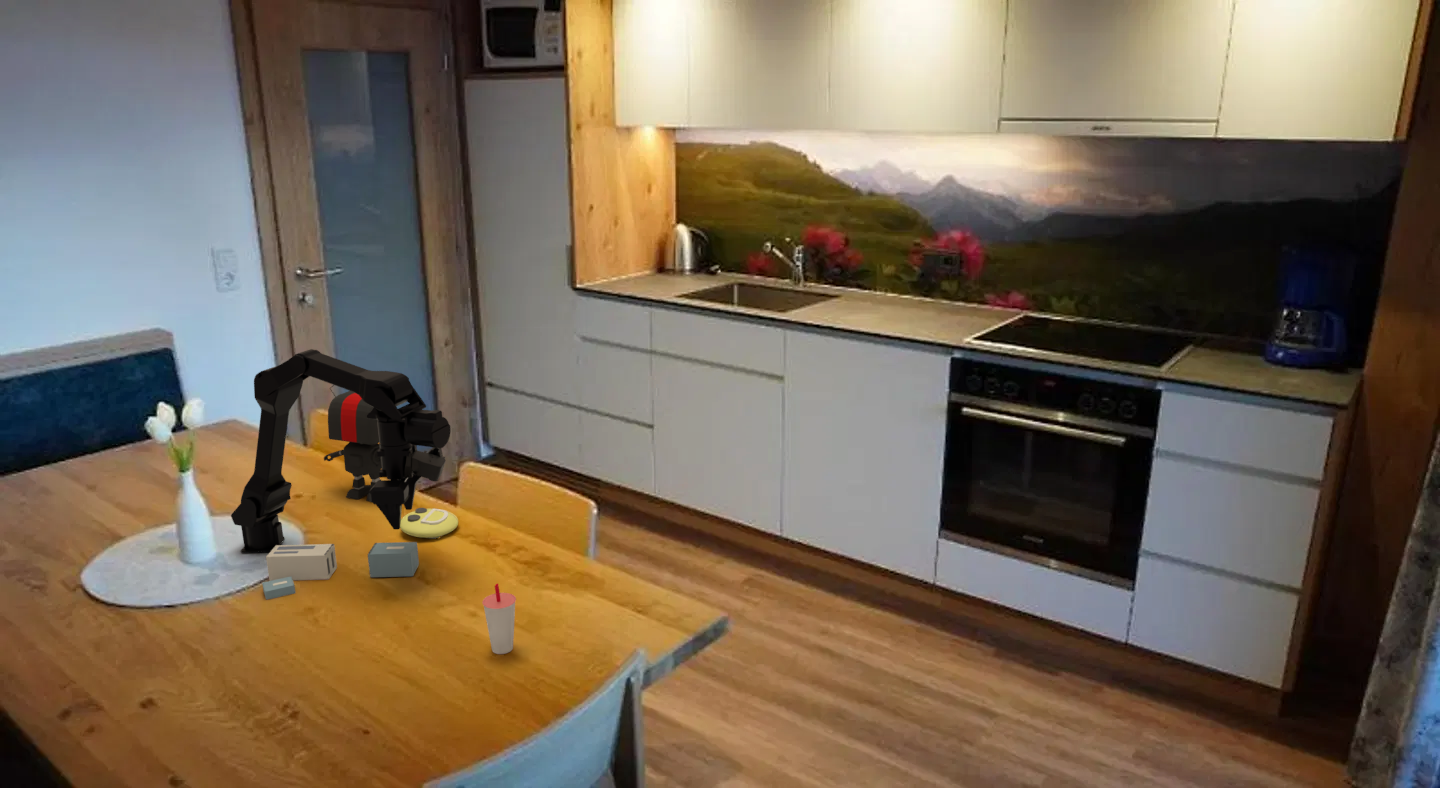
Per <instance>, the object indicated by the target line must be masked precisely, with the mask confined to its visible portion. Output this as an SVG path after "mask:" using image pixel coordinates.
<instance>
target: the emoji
mask: <svg viewBox="0 0 1440 788" xmlns="http://www.w3.org/2000/svg"><path fill="white" fill-rule="evenodd" d="M458 525H459V518H458V517H457V516H456V515H455V514H454V513H452V512H450V511H448V510H446V509H442V508H441V509H439V508H434V507H433V508H427V507H418V508H416V509H415V510H414V511H411V512H409V513H407V514H405V515H404V516H403V517H401V524H400V530H401V531H402V532H403V533H404V534H407V535H409V536H411V537H415V538H416V537H417V538H426V539H436V538H439V537H440V536H441V537H442V536H444V535H445V536H446V535H447V534H450V533H452V531H454V530H455V529H457V527H458ZM441 537H440V538H441ZM440 538H439V539H440Z"/></svg>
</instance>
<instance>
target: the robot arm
mask: <svg viewBox="0 0 1440 788" xmlns="http://www.w3.org/2000/svg"><path fill="white" fill-rule="evenodd" d="M310 377H311V378H313V379H316V380H319V381H323V382H324V383H327V384H331V385H332V386H333V385H334V386H336V387H339V388H341V389H343V390H347V391H352V392H354V393H356V394H358V395H359V396H360V397H361V398H362V400H363V401H364V402H365V403H367V404H369V405H370V406H372V407H373V409H372V410H371V411H370V412H369V413H368V414H367V415H366V417H367V418H369V419H377V424H378V433H379V443H378V444H380V448H379V450H378V451H377V457H380V456H381V463H382V469H381V471H380V472H379V476H380V478H386V480H385V479H384V480H383V479H381V480H378V481H377V483H376V484H375V485H374V486H373V487H372V488H371V490H370V491H369V500H370V501H369V502H370V503H372V504H373V505H376V507H377V508H378V509H379V510H380V512H381V513H382V514H383V516H384V518H385V519H386V520H387V521H388V523H389V524H390V526H391V528H392V529H393V530H401V528H400V524H401V519H402V508H403V506H404V509H405V510H407V511H410V510H413V506H414V498H415V495H416V494H415V493H416V487H417V482H418V481H419V480H420V479H421V478H425V479H428V481H430V482H438V481H439V479H440V477H441V476H442V473H443V470H444V467H445V464H446V456H443V451H442V448H444V447H446V445H447V444H448V443H449V440H450V436H451V425H450V424H449V423H450V422H449V421H448V419H447V418H446V417H444V416H443V412H442V410H439V409H438V410H437V409H433V410H430V409H426V408H427V404H426V403H425V401H424V400H423V399H422V398H421V396H420V394H418V391H416V389H415V388H414V386H413V385H412V383H411V381H410V379H409V377H408V376H407V375H405V374H404V373H402V372H395V371H391V370H389V371H388V370H370V369H366V368H364V367H361V366H357V365H355V364H352V363H349V362H346V361H344V360H340V359H338V358H335V357H332V356H330V355H327V354H324V353H322V352H321V351H319V350H317V349H312V348H311V349H307V350H304V351H301V352H298V353H295V354H294V355H293V356H292V357H290V358H289V359H287V360H285V361H284V362H282V363H280V364H278V365H276V366H272V367H271V368H267V369H264V370H261V371H259V372H258V373H256V374H255V376H254V379H253V389H254V391H253V392H254V393H253V394H254V395H253V396H254V399H255V401H256V402H257V404H258V406H259V407H260V416H259V417H260V419H259V428H258V435H257V436H258V437H257V443H256V451H255V452H256V453H255V463H254V470H253V474H252V475H251V477H250V478H249V479H248V481H247V483H246V484H245V485H244V488H243V491H242V495H241V498H240V504H239V505H238V506H237V507H236V508H235V509H234V511H233V512H232V513H231V514H230V517H231V520H232V522H233V525H235V526H240V527H241V534H242V540H243V541H242V542H243V547H242V549H240V552H241V553H242V554H243V553H245V554H247V553H270V552H271V551H272V549H273V548H274V547H275V546H276V545H282V543H283V542H284V541H285V539H286V538H285V536H284V533H283V532H284V531H283V524H282V522H281V521H279V514H280V513H281V514H282V513H283V512H284V509H285V506H286V504H287V503H288V501H289V500H291V488H292V483H291V482H290V481H286V479H285V477H284V475H283V474H282V470H283V463H284V455H285V454H284V453H285V447H286V438H287V430H288V423H289V416H290V415H289V414H290V410H291V409H292V407H293V405H294V404H295V403H296V401H297V400H298V399H299V396H300V393H301V390H302V388H303V383H304V381H305V380H306V379H308V378H310ZM405 403H408V404H406V405H403V406H401V407H399V406H400V405H402V404H405ZM398 407H399V408H398ZM417 446H418V447H419V446H420V447H428V448H430V450H429V451H428V452H427V450H424V451H420V450H418V447H417ZM282 541H283V542H282Z"/></svg>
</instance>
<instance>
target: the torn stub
mask: <svg viewBox="0 0 1440 788" xmlns="http://www.w3.org/2000/svg"><path fill="white" fill-rule="evenodd" d="M261 585H262V589H263V590H262V591H263V594H264V597H265V600H271V599H277V598H280V597H285V596H290V595H292V594H293V595H294V594H296V586H295V583H294V580H292V577H286V578H281V579H277V580H272V581H269V580H268V581H264V582H262V583H261Z"/></svg>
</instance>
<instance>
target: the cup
mask: <svg viewBox="0 0 1440 788" xmlns="http://www.w3.org/2000/svg"><path fill="white" fill-rule="evenodd" d="M499 587H500V586H499V583H495V585H494V590H495V593H492V594H490V595H487V596H486V597H484V598H483V600H482V605H483V608H484V609H483V610H484V614H485V620H486V624H487V631H488V636H489V641H490V646H491V651H492V653H494V654H497V655H504V654H508V653H511V651H512V650H513V649H514V638H515V637H514V636H515V635H514V634H515V614H516V613H515V612H516V600H517V598H516V596H515V595H514V594H512V593H508V592H500V588H499Z"/></svg>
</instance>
